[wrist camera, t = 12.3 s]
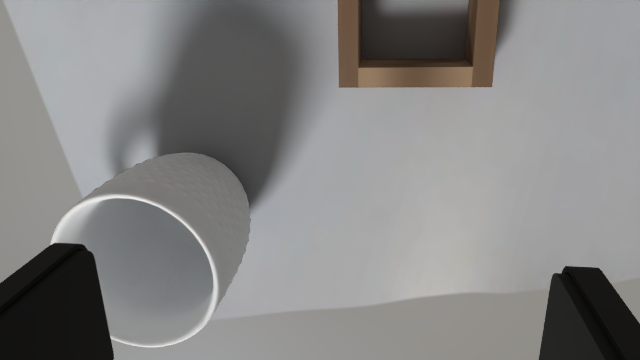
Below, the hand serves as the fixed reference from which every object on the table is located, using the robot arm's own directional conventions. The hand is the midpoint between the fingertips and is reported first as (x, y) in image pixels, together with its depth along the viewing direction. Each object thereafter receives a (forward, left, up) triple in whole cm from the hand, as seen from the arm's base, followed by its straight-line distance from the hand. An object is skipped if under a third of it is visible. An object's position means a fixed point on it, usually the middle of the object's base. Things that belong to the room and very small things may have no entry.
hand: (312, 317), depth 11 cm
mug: (+15, +10, -30) cm, 35 cm away
